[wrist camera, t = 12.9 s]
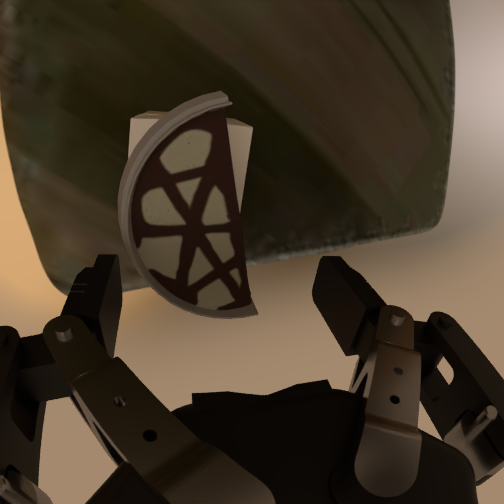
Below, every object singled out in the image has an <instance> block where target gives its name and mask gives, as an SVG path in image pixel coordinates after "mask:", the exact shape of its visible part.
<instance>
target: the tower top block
mask: <svg viewBox="0 0 504 504" xmlns="http://www.w3.org/2000/svg"><path fill="white" fill-rule="evenodd" d="M163 116H164V115H148V114H139V115H137V116H135V117H133V118H131V125H130V138H129V154H128V159H129V158H130V156H131V154H132V152H133V150H134V148H135V146H136V145H137V143H138V142H139V141H140V140H141V138H142V137H143V136H144V134H145V133H146V132H147V131H148V129H149V128H150V127H152V126H153V125H154V124H155V123H156V122H157V121H158V120H159V119H160V118H161V117H163ZM227 127H228V134H229V142H230V149H231V157H232V164H233V172H234V179H235V186H236V193H237V199H238V205H239V211H240V209H241V202H242V196H243V189H244V183H245V176H246V169H247V163H248V156H249V150H250V144H251V137H252V131H253V127H251V126H249V125H247V124H245V123H243V122H240V121H231V120H227Z"/></svg>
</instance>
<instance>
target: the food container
mask: <svg viewBox="0 0 504 504" xmlns="http://www.w3.org/2000/svg"><path fill="white" fill-rule="evenodd" d="M231 104H232V102H229V101H228V96H227V95H225V94H224V93H223V92H222V91H218V92H214V93H209V94H205V95H201V96H199V97H197V98H194V99H192V100H189V101H187V102H185V103H182V104H181V105H179V106H178V107H176V108H174V109H173V110H171V111H170V112H168V113H167V114H165V115H164V116H163V117H161V118H160V119H159V120H158V121H157V122H156V123H155V124H154V125H153V126H152V127H150V128H149V129H148V131H147V132H146V133H145V134H144V136H143V137H142V138H141V140H140V141H139V142H138V143H137V145H136V146H135V148H134V150H133V152H132V154H131V156H130V158H129V159H128V161H127V163H126V166H125V169H124V172H123V175H122V178H121V182H120V188H119V195H118V220H119V224H120V229H121V233H122V237H123V241H124V244H125V247H126V249H127V252H128V254H129V256H130V259H131V261H132V263H133V265H134V266H135V268H136V269H137V271H138V272H139V274H140V275H141V277H142V278H143V279H144V280H145V281H146V282H147V283H148V284H149V286H150V287H151V288H152V289H154V290H155V291H156V292H157V293H158V294H159V295H160V296H162V297H163V298H165V299H166V300H167V301H168V302H170V303H171V304H173V305H175V306H177V307H179V308H181V309H183V310H185V311H188V312H191V313H194V314H197V315H200V316H206V317H211V318H224V319H232V318H244V317H249V316H254V315H258V312H257V309H256V308H255V305H254V303H253V301H252V298H251V292H250V289H249V284H248V277H247V270H246V262H245V254H244V245H243V235H242V226H241V217H240V211H239V205H238V199H237V193H236V186H235V179H234V172H233V164H232V157H231V149H230V142H229V134H228V127H227V120H226V113H225V108H223V107H226V106H228V105H231Z"/></svg>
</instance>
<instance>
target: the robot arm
mask: <svg viewBox="0 0 504 504" xmlns="http://www.w3.org/2000/svg"><path fill="white" fill-rule="evenodd" d="M312 297H313V301H314V303H315V305H316V306H317V308H318V309H319V311H320V313H321V314H322V316H323V318H324V320H325V321H326V323H327V325H328V327H329V328H330V330H331V332H332V333H333V335H334V337H335V338H336V340H337V342H338V344H339V345H340V347H341V349H342V350H343V352H344V354H345V355H346V356H351V355H357V354H358V355H359V358H358V360H357V363H356V366H355V370H354V373H353V377H352V380H351V384H350V387H349V391H345V390H339V389H332V388H331V386H330V384H329V382H328V380H327V379H326V380H321V381H314V382H308V383H302V384H296V385H293V386H291V387H288V388H286V389H283V390H280V391H277V392H275V393H272V394H269V395H254V394H245V393H236V392H229V391H227V392H210V393H192V404H189V405H185V406H182V407H180V408H177V409H175V410H173V411H172V412H170V411H169V410H168V409H167V408H166V407H165V406H164V405H163V404H162V403H161V402H160V401H159V400H158V399H157V398H156V397H155V396H154V395H153V394H152V392H151V391H149V389H148V388H147V387H146V386H145V385H144V384H143V383H142V382H141V381H140V380H139V379H138V377H136V375H135V374H134V373H133V372H132V371H131V370H130V369H129V367H127V365H126V364H125V363H124V362H123V361H122V360H121V359H120V358H119V357H115V358H113V357H114V350H115V343H116V337H117V330H118V325H119V319H120V313H121V308H122V285H121V276H120V266H119V258H118V255H108V254H99V255H98V257H97V259H96V261H95V264H94V266H93V267H85V268H84V269H83V270H82V271H81V272H80V273H79V274H77V276H76V278H75V281H74V283H73V285H72V288H71V290H70V292H69V295H68V297H67V300H66V302H65V305H64V307H63V310H62V312H61V315H60V316H58V317H56V318H54V319H52V320H50V321H49V322H48V323H47V324H46V325H45V327H44V329H43V333H41V334H38V335H33V336H27V337H22V338H20V336H19V334H18V331H17V330H16V329H15V328H13V327H11V326H0V504H53V503H52V501H51V500H50V498H49V497H48V496H47V494H45V493H44V492H43V491H42V490H41V489H40V488H38V476H39V460H40V448H41V439H42V429H43V421H44V415H45V408H46V402H47V401H48V400H53V399H59V398H64V397H70V399H71V401H72V402H73V404H74V406H75V407H76V409H77V410H78V412H79V413H80V415H81V416H82V418H83V419H84V421H85V422H86V424H87V425H88V426H89V428H90V429H91V431H92V432H93V434H94V435H95V437H96V438H97V439H98V441H99V442H100V444H101V445H102V447H103V448H104V450H105V451H106V453H107V454H108V455H109V457H110V458H111V459H112V460H113V462H114V463H115V464H116V465H117V467H118V468H117V469H116V470H115V471H114V472H113V473H112V474H111V476H110V477H109V478H108V479H107V480H106V481H105V482H104V484H102V486H101V487H100V488H99V489H98V490H97V491H96V492H95V493H94V494H93V496H92V497H91V498H90V499H89V500H88V501H87V502H86V503H85V504H478V499H477V492H476V486H478V485H480V484H482V483H483V482H485V481H486V480H487V479H489V478H490V477H492V476H493V475H494V474H496V473H497V472H498V471H499V470H501V469H502V468H503V467H504V380H503V378H502V377H501V376H500V374H499V373H498V372H497V370H496V369H495V368H494V367H493V365H492V364H491V363H490V361H489V360H488V359H487V358H486V356H485V355H484V354H483V353H482V351H481V350H480V349H479V348H478V346H477V345H476V344H475V343H474V342H473V340H472V339H471V338H470V337H469V336H468V334H467V333H466V332H465V331H464V330H463V329H462V327H461V326H460V325H459V324H458V323H457V322H456V320H455V319H454V318H452V317H451V316H450V315H448V314H445V313H443V312H433V313H431V315H430V316H429V318H428V320H427V322H422V321H414V320H413V317H412V316H411V315H410V314H409V312H407V311H406V310H404V309H403V308H400V307H398V306H394V305H387V304H386V303H385V302H384V301H383V300H382V298H381V297H380V296H379V295H378V294H377V292H376V291H375V290H374V289H373V288H372V287H371V286H370V284H369V283H368V282H366V280H365V279H364V277H363V276H362V275H361V274H360V273H358V272H357V271H355V270H354V269H352V268H350V267H349V265H348V264H347V263H346V262H345V261H344V260H343V259H342V257H340V256H323V257H322V258H321V259H320V262H319V265H318V269H317V273H316V277H315V281H314V285H313V289H312ZM443 356H444V357H445V359H446V360H447V362H448V363H449V364H450V365H451V367H452V368H453V372H454V378H453V380H452V382H451V383H450V385H449V384H448V383H447V382H446V380H445V379H444V377H443V376H442V374H441V373H440V371H439V370H438V368H437V365H438V364H439V362H440V361H441V359H442V358H443ZM419 401H421V403H422V405H423V407H424V408H425V410H426V412H427V414H428V415H429V417H430V419H431V421H432V422H433V424H434V426H435V428H436V429H437V431H438V433H439V435H440V436H441V438H442V440H443V441H441V440H439V439H437V438H436V437H434V436H432V435H430V434H428V433H426V432H424V431H422V430H420V429H419V428H418V415H419Z"/></svg>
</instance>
